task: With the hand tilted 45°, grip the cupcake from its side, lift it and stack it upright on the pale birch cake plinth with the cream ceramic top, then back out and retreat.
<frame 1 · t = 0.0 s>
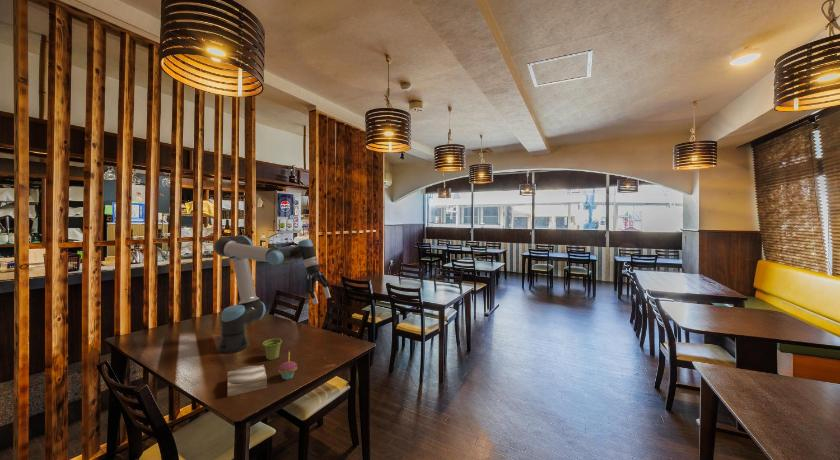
hand: (322, 300, 183), 28 cm above the table, tool tilted 20°, fingers open, 13 cm apart
plant pot: (272, 357, 171), on the table
cupcake: (287, 377, 151), on the table
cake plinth: (247, 384, 144), on the table
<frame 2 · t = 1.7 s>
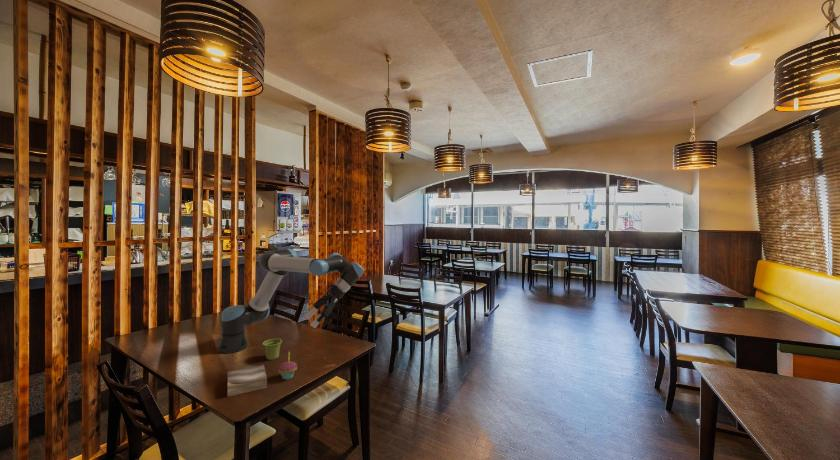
hand: (309, 322, 155), 25 cm above the table, tool tilted 45°, fingers open, 13 cm apart
nothing on the table moved.
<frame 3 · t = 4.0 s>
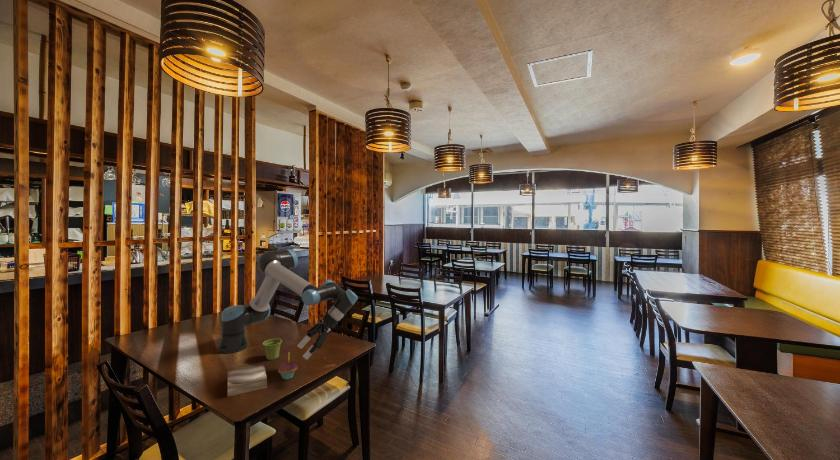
hand: (301, 352, 153), 11 cm above the table, tool tilted 45°, fingers open, 13 cm apart
nothing on the table moved.
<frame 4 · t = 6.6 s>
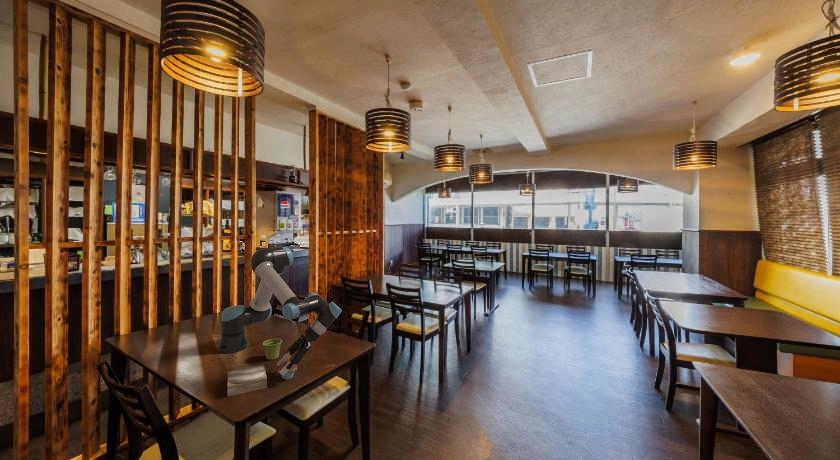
hand: (280, 369, 149), 4 cm above the table, tool tilted 45°, fingers closed on cupcake, 8 cm apart
cupcake: (287, 377, 151), on the table, touching gripper
everything else where it was.
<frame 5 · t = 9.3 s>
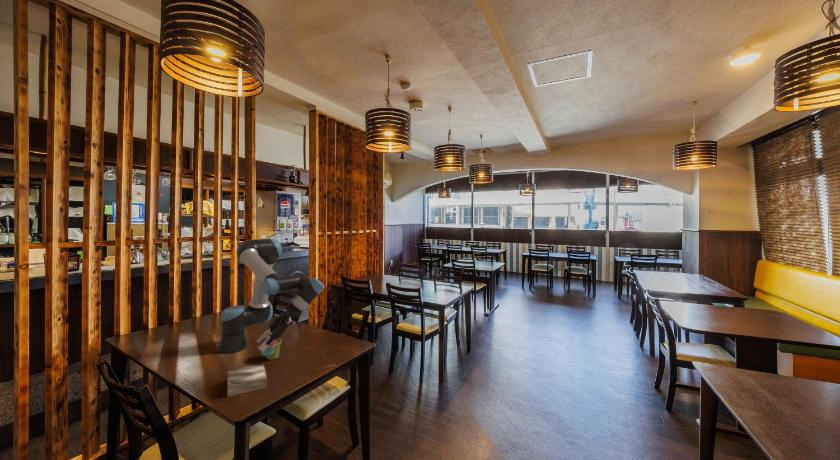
hand: (259, 346, 144), 17 cm above the table, tool tilted 45°, fingers closed on cupcake, 8 cm apart
cupcake: (268, 354, 146), point 13 cm above the table, touching gripper
everything else where it was.
when the fingers open (11 cm above the table, at t = 12.0 s): cupcake drops 1 cm, resting on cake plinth.
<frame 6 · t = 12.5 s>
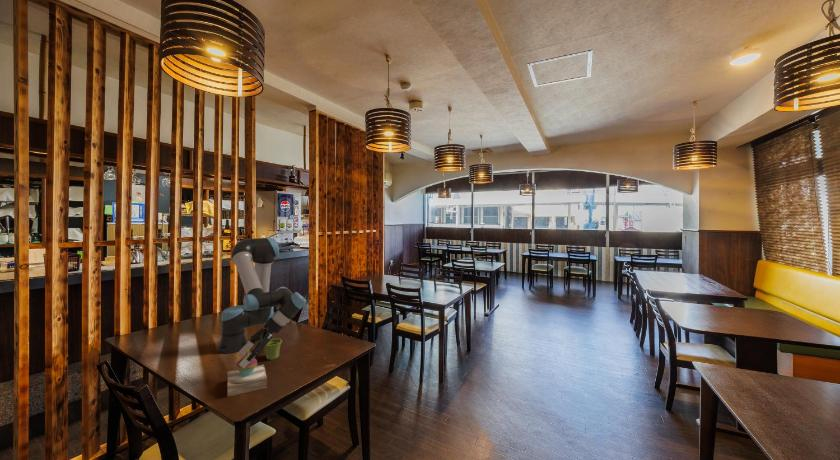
hand: (241, 360, 142), 12 cm above the table, tool tilted 45°, fingers open, 13 cm apart
cupcake: (247, 374, 143), point 5 cm above the table, touching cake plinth
everything else where it was.
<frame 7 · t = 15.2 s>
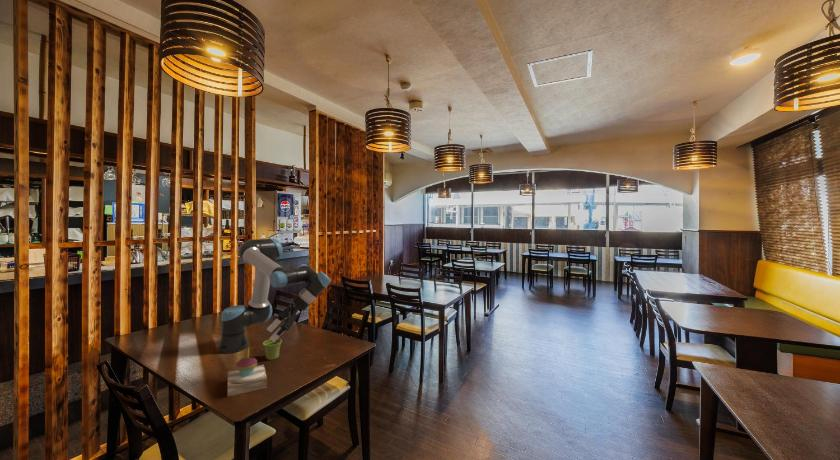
hand: (270, 335, 148), 21 cm above the table, tool tilted 45°, fingers open, 13 cm apart
nothing on the table moved.
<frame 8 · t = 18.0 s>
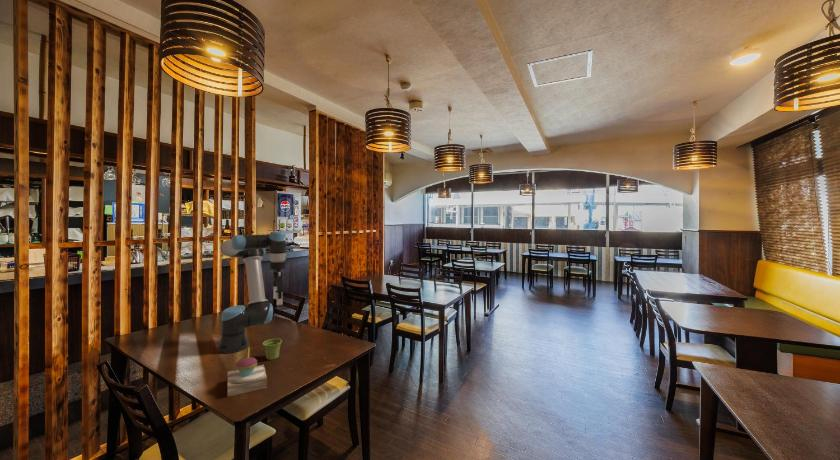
hand: (277, 301, 166), 32 cm above the table, tool pointing down, fingers open, 13 cm apart
nothing on the table moved.
at the end: cupcake inside the target area on the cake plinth (0.6 cm from its centre), point 4.8 cm above the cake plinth's base; cupcake tilted 0°; the gripper is holding nothing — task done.
